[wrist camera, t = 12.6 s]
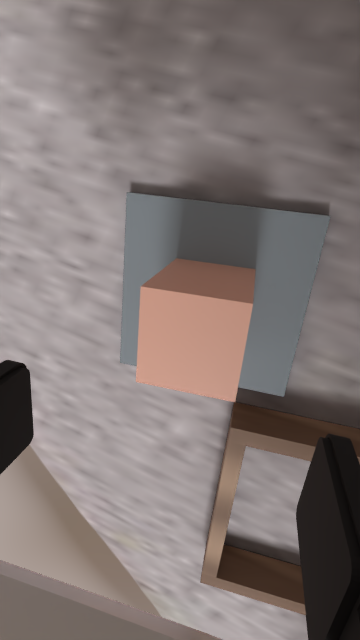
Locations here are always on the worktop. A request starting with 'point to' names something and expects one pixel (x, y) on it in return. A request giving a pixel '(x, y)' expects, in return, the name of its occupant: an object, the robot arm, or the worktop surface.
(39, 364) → the worktop surface
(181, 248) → the slate mat
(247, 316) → the terracotta block
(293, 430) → the brown wooden square frame
